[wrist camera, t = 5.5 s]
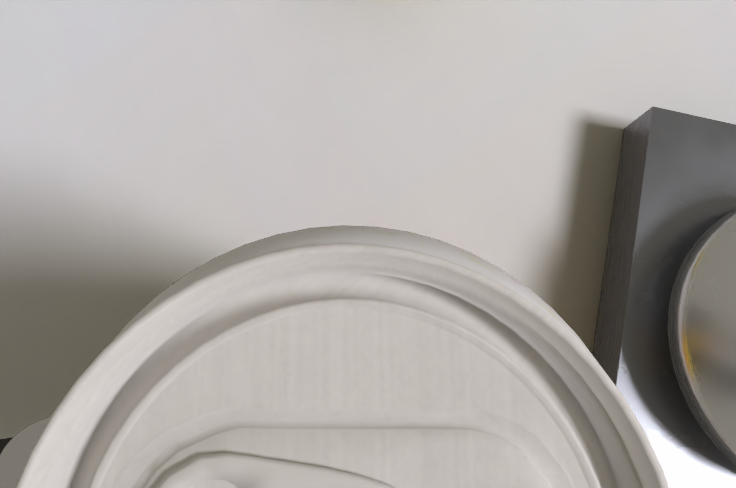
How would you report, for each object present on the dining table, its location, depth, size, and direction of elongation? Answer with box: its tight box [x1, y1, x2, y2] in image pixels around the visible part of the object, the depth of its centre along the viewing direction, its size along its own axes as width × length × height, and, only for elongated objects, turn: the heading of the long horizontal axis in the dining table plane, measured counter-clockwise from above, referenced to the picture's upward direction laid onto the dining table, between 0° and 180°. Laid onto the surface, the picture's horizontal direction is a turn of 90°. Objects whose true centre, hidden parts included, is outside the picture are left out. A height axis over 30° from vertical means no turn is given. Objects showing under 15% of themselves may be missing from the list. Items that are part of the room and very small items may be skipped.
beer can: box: [15, 226, 669, 488], centre depth 11 cm, size 6×6×15 cm
